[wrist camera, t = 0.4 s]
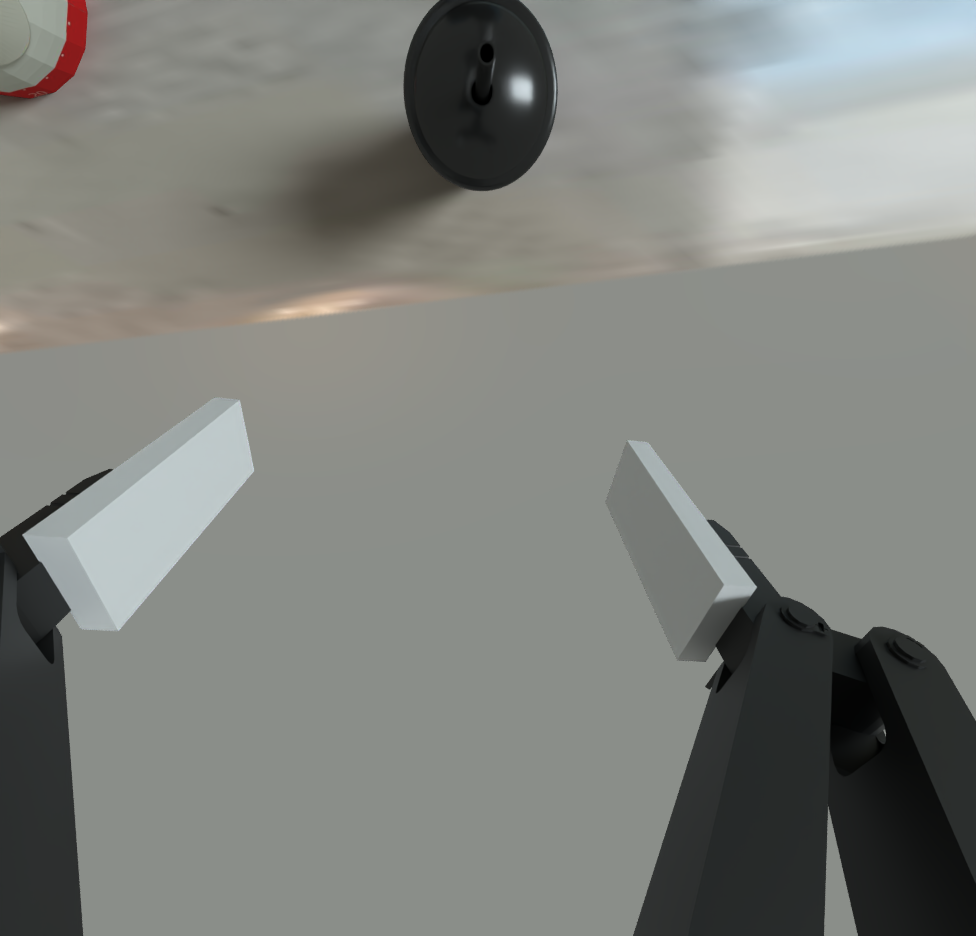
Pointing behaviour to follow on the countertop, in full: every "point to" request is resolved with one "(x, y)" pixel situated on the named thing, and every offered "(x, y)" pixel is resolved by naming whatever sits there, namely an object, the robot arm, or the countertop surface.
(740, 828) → the robot arm
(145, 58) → the countertop surface
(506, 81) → the drinking cup
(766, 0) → the countertop surface
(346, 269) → the countertop surface
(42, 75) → the kitchen timer
